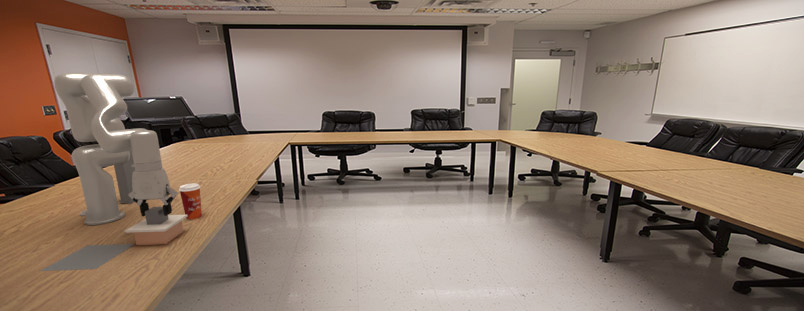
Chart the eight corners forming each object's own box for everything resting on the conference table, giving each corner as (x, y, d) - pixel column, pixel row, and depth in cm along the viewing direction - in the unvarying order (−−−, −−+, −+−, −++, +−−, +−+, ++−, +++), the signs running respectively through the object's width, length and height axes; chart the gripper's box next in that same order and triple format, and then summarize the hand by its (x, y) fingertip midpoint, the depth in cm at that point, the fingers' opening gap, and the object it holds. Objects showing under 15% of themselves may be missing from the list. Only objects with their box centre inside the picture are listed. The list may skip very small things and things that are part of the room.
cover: (125, 232, 109) (122, 216, 108) (152, 217, 122) (149, 202, 121) (165, 231, 110) (162, 215, 109) (187, 216, 122) (185, 202, 121)
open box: (136, 246, 112) (133, 230, 111) (156, 233, 122) (153, 218, 120) (166, 245, 112) (163, 229, 111) (183, 232, 122) (181, 218, 121)
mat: (39, 272, 96) (39, 270, 96) (87, 246, 112) (87, 245, 112) (96, 270, 97) (95, 268, 97) (135, 245, 113) (135, 243, 113)
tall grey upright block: (145, 194, 168) (137, 147, 162) (156, 194, 167) (148, 147, 162) (119, 203, 154) (109, 152, 149) (130, 204, 153) (120, 152, 148)
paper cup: (194, 221, 133) (189, 188, 130) (178, 219, 134) (173, 187, 132) (208, 214, 140) (204, 183, 138) (193, 212, 142) (189, 182, 139)
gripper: (113, 169, 107) (123, 219, 111) (167, 168, 108) (175, 218, 112) (130, 164, 114) (139, 211, 118) (181, 163, 116) (188, 210, 119)
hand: (156, 214), depth 115 cm, fingers open, 7 cm apart
